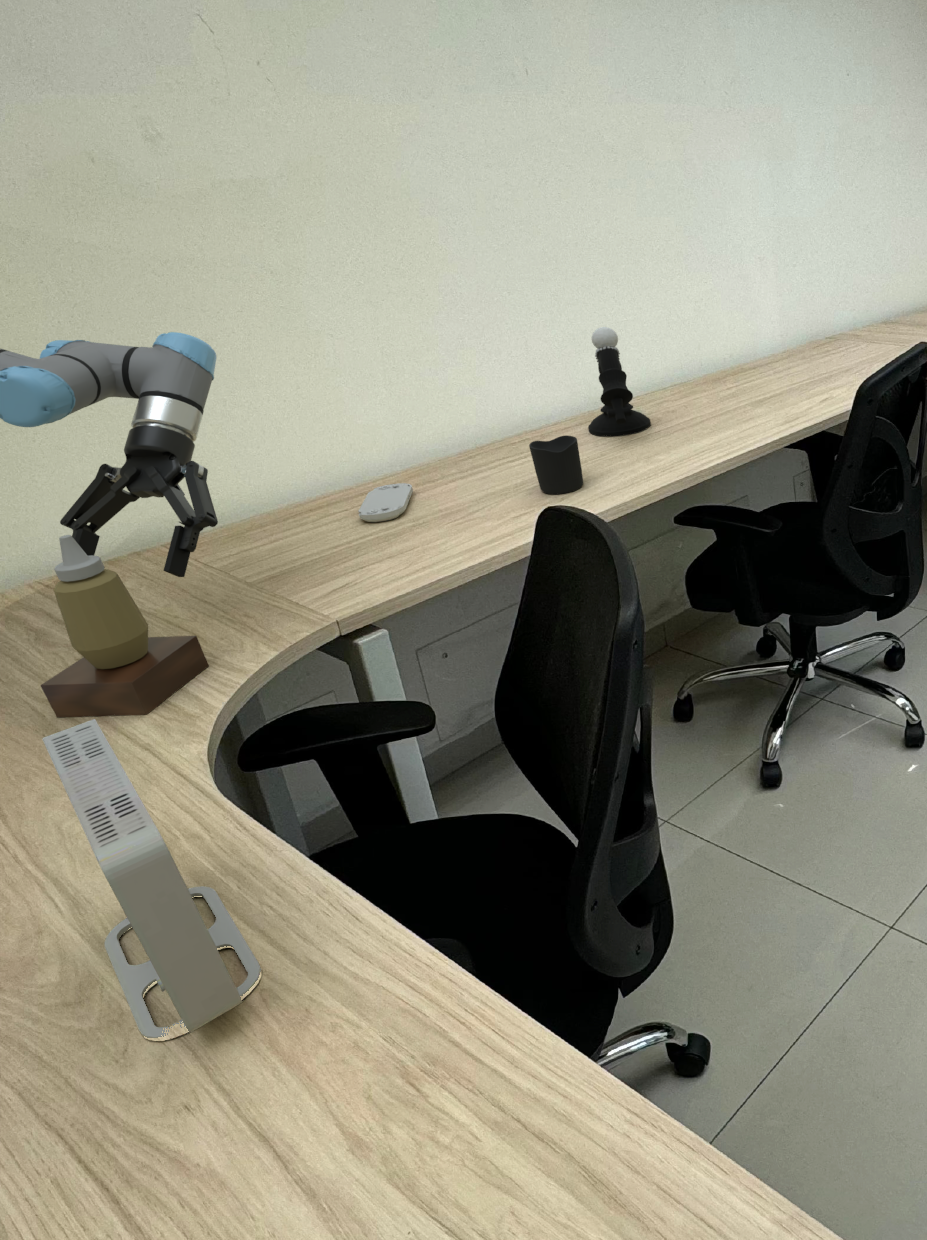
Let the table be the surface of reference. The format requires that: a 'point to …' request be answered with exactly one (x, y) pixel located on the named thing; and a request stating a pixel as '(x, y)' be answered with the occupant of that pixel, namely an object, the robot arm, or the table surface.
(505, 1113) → the table surface
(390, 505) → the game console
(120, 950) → the network device
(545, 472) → the pen holder
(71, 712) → the riser
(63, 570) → the squeeze bottle
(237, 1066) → the table surface
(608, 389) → the sculpture
